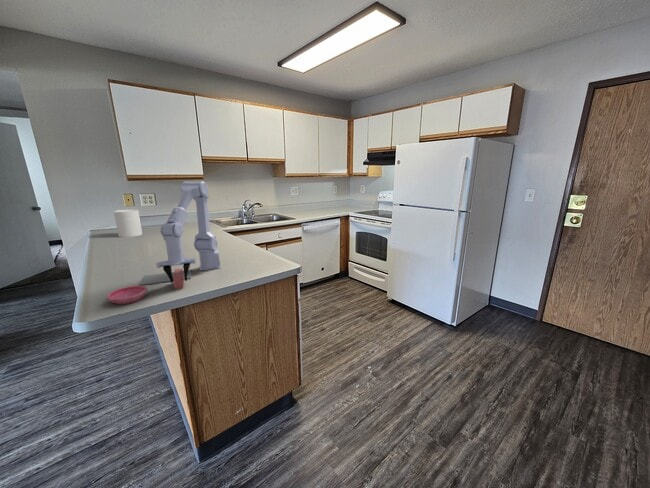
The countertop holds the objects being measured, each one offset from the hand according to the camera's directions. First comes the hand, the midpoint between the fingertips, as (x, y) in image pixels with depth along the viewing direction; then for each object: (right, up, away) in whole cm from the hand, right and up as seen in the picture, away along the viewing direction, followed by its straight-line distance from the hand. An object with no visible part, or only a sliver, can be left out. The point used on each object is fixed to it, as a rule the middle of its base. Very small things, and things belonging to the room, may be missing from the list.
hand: (179, 280), depth 115 cm
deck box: (0, -2, +1) cm, 2 cm away
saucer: (-13, -6, -12) cm, 19 cm away
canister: (-96, +23, +101) cm, 141 cm away
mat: (-10, 0, +9) cm, 14 cm away
